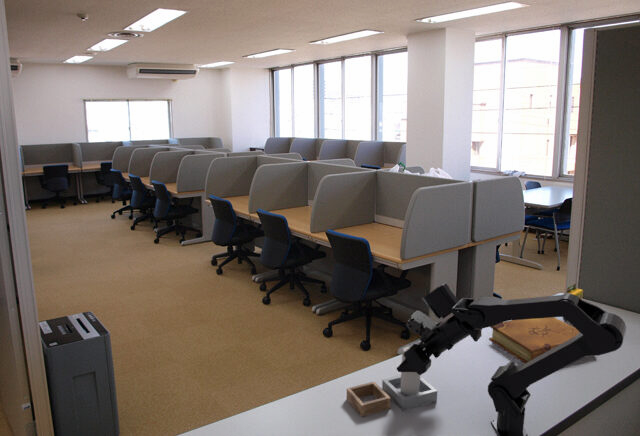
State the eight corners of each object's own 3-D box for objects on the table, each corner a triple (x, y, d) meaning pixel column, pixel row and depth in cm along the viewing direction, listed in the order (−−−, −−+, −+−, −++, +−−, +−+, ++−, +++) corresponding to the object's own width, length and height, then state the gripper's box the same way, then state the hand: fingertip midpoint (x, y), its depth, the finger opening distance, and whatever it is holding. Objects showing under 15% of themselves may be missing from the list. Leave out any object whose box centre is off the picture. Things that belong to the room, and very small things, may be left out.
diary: (531, 370, 142) (533, 351, 141) (488, 341, 159) (490, 324, 158) (593, 355, 150) (595, 337, 148) (545, 329, 167) (547, 313, 165)
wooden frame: (390, 408, 123) (390, 397, 123) (361, 416, 120) (361, 405, 119) (374, 391, 130) (374, 381, 130) (346, 399, 127) (346, 388, 127)
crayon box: (571, 321, 171) (575, 289, 168) (562, 319, 173) (566, 287, 171) (580, 315, 176) (584, 284, 173) (571, 313, 178) (575, 282, 175)
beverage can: (409, 384, 132) (412, 343, 129) (423, 393, 128) (426, 350, 125) (396, 390, 129) (398, 348, 126) (409, 399, 125) (412, 356, 122)
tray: (436, 401, 126) (437, 390, 125) (403, 411, 122) (403, 400, 122) (414, 381, 135) (414, 371, 134) (382, 389, 131) (382, 379, 130)
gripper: (441, 292, 128) (399, 322, 137) (413, 319, 113) (368, 351, 121) (469, 328, 126) (426, 356, 134) (445, 360, 111) (397, 389, 119)
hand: (405, 362), depth 127 cm, fingers open, 9 cm apart
